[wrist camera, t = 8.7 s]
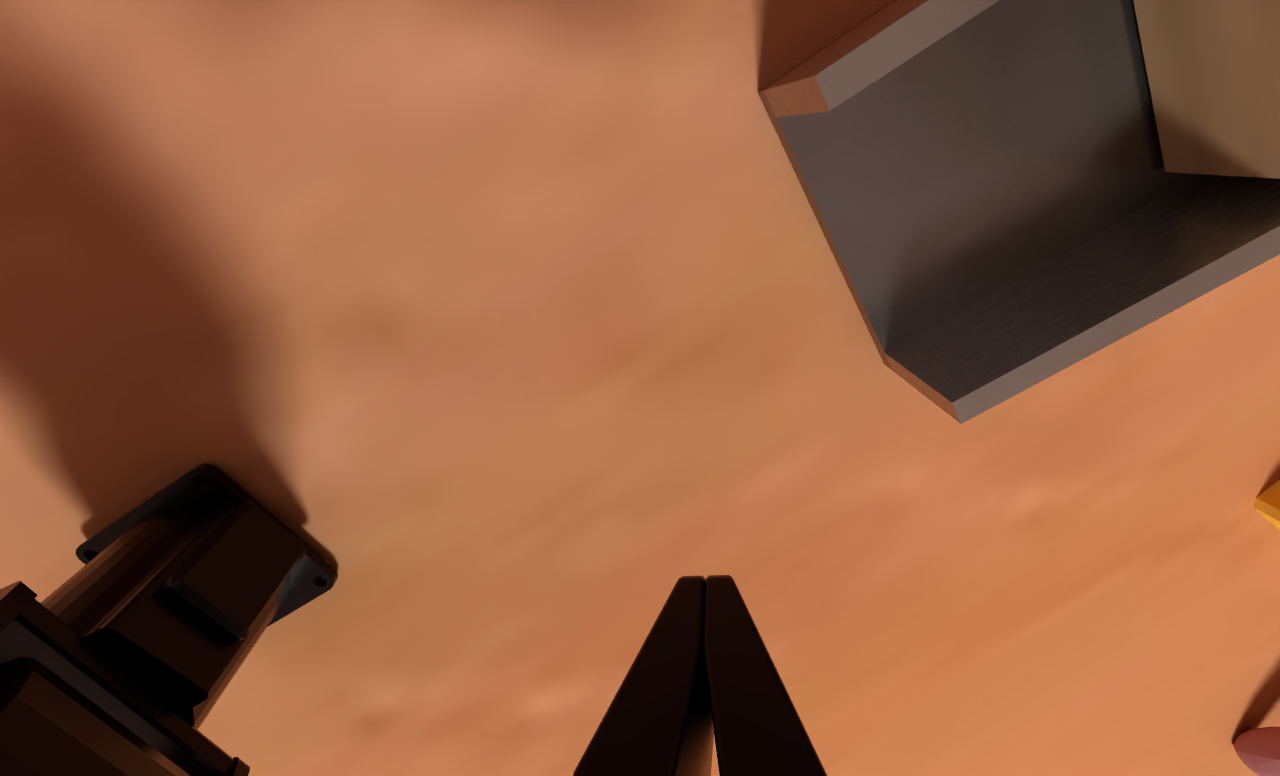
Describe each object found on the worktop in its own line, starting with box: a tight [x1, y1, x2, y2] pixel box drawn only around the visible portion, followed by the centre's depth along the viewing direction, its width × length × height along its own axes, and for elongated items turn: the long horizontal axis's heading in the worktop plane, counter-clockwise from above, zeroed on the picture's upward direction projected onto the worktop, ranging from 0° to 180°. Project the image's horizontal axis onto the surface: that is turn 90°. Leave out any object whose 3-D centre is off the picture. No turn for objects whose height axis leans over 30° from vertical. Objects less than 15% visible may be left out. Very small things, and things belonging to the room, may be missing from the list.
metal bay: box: [758, 0, 1280, 424], centre depth 14 cm, size 20×10×5 cm, turn 122°
